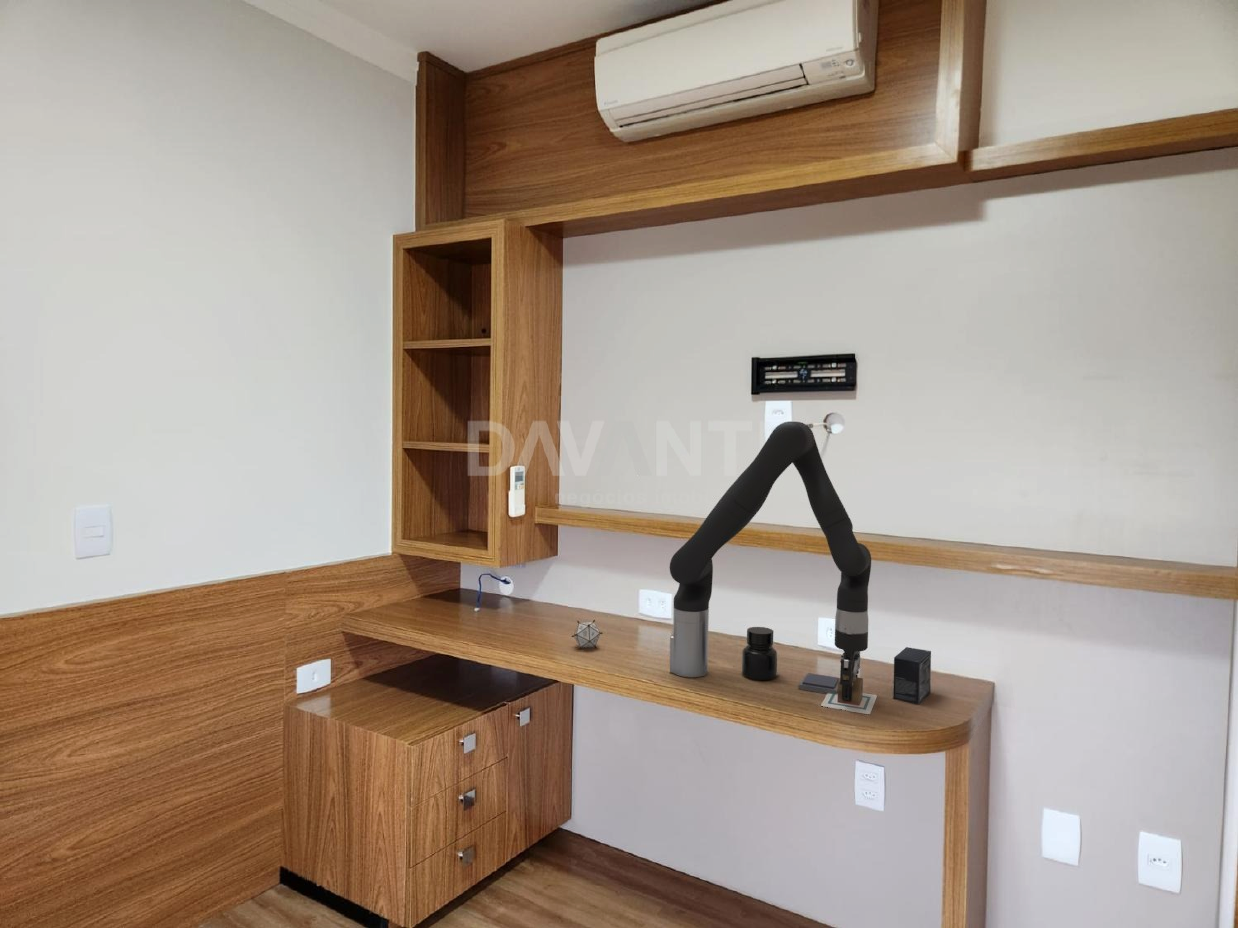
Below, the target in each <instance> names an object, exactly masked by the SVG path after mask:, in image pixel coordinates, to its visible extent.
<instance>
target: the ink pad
mask: <svg viewBox="0 0 1238 928" xmlns="http://www.w3.org/2000/svg"><path fill="white" fill-rule="evenodd" d="M839 679H840V677H837V676H831V675H825V674H824V675H823V674H817V673H812V672H810V673H809V672H808V673H806V674H805V676H804V677H803V678H802V680H801V681H800V682H799V683H798V690H800V691H801V690H802V691H806V690H807V692H813V693H819V692H820V693H821V694H825V695H827V694H828V693H830V694H837V692H838V681H839Z"/></svg>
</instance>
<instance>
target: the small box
mask: <svg viewBox="0 0 1238 928" xmlns="http://www.w3.org/2000/svg"><path fill="white" fill-rule="evenodd" d="M931 664H932V651H931V650H928V649H920V648H913V647H908V646H906V647H905V648H904V649H902V650H901V651H900V652H899V653H897V654H896V655H894V657H893V689H892V691H893V692H892V699H894V700H895V701H896V700H897V701H900V702H906V703H911V704H914V705H920V704H921V703H922V702H924V700H925V699H926V697H928V696H929V694H931V687H932V686H931V675H932V674H931V670H932V665H931Z"/></svg>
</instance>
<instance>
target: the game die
mask: <svg viewBox="0 0 1238 928" xmlns="http://www.w3.org/2000/svg"><path fill="white" fill-rule="evenodd" d="M576 621H577V622H576V623H577V627H576V628H575V632H574V634H572V635H571V637H572V638H574V639H575V641H576V643H577V644H578V646H579V647H578V650H579V651H580V650H581V649H582V648H583V649H584V648H594V649H598V648H597V643H598V641H599V638H600V635H603V634H604V633H603V632H602V631H600V630H599V628H598V626H597V625H596V623H595V622H596V619H593V621H590V622H589V621H588V622H587V621H585V622H580V621H579V620H576Z"/></svg>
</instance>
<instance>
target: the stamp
mask: <svg viewBox="0 0 1238 928" xmlns="http://www.w3.org/2000/svg"><path fill="white" fill-rule="evenodd" d="M844 680H849V676H845V679H844ZM863 686H864V678H863V677H854V678H853V685H852V701H851V702H847V701H843V700H842V685H840V678H839V681H838V700H837V702H840V703H846V704H852V705H858V706H860V703H861V701H862V696H863V693H864V692H863V691H864V690H863V689H864V687H863Z"/></svg>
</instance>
